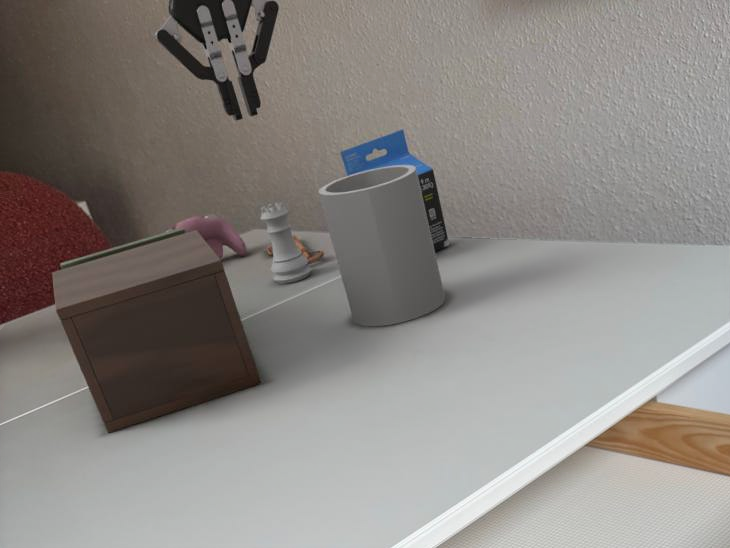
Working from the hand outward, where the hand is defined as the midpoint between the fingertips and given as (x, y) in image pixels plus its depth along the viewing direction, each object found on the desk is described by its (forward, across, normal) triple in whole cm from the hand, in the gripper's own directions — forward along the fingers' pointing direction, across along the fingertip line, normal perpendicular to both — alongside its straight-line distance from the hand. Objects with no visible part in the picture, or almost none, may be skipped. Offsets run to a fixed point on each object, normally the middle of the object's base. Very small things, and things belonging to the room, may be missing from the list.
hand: (245, 116), depth 116 cm
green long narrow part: (+16, +17, +13) cm, 27 cm away
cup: (+17, -6, +24) cm, 30 cm away
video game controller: (+17, +7, -19) cm, 27 cm away
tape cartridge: (+17, -12, +7) cm, 22 cm away
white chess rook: (+17, 0, 0) cm, 17 cm away
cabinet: (+17, +17, +25) cm, 35 cm away
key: (+17, -2, -10) cm, 20 cm away
